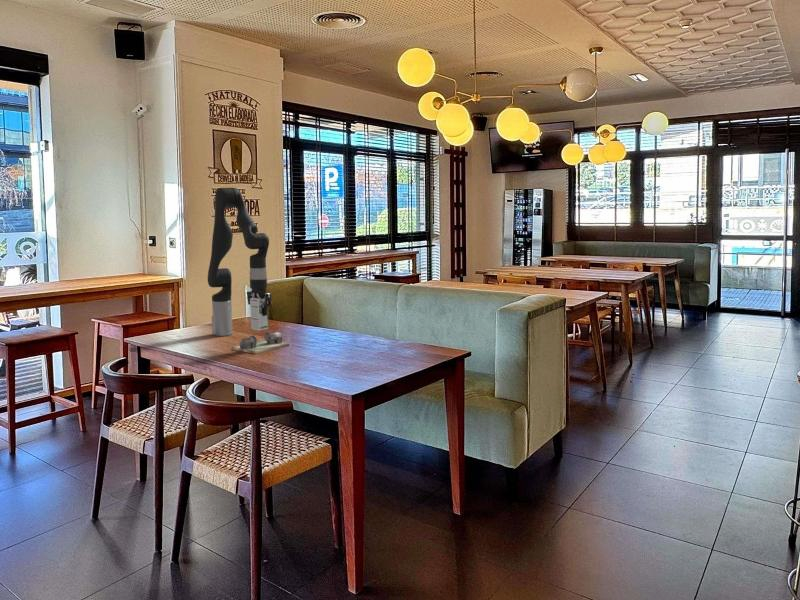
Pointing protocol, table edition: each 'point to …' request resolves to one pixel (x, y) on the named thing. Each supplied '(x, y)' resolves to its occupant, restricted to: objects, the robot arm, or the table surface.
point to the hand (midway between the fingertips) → (259, 314)
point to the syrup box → (258, 315)
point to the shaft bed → (261, 344)
